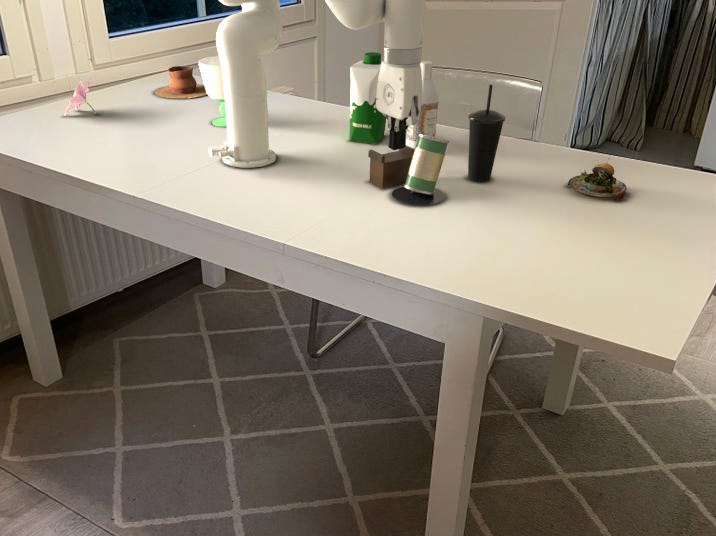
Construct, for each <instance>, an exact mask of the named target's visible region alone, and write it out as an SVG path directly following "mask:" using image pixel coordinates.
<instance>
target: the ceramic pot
mask: <svg viewBox="0 0 716 536" xmlns="http://www.w3.org/2000/svg"><path fill="white" fill-rule="evenodd" d="M193 70H194V68H193V67H192V66H188V65H187V66H185V65H176V66H171V67H169V68H167V72H168V75H169V77H170V78H169V81H168V85H167V86H163V87H160V88H157V89H156V90H155V91H154V94H155V95H156V96H158V97H160V98H165V99H166V98H167V99H186V100H187V99H188V100H189V99H192V98H193V99H194V98H198V97H204V96H206V95H208V94H207V92H206V88H205V85H204V84H197V80H196V78H195V77H194V75H193V74H194V73H193V72H194V71H193Z"/></svg>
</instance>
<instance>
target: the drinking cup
mask: <svg viewBox="0 0 716 536" xmlns="http://www.w3.org/2000/svg"><path fill="white" fill-rule="evenodd" d="M493 87H494V85H493V84H489V85H488V93H487V101H486V108H485V109H479V110H476V111H474V112H470V113H469V114H468V116H467V117H468V120H469V127H468V130H469V131H468V158H467V160H468V161H467V179H468V180H469V182H472V183H477V184H478V183H479V184H483V183H488V182H489V181H490V180H491V176H492V172H493V169H494V164H495V159H496V155H497V151H498V147H499V143H500V138H501V134H502V129H503V126H504V125H503V124H504V122H505V121H506V116H505V115H504V114H503V113H500V112H498V111H497V110H493V109H491V101H492V94H493Z"/></svg>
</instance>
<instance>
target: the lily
mask: <svg viewBox="0 0 716 536" xmlns="http://www.w3.org/2000/svg"><path fill="white" fill-rule="evenodd" d="M92 80H93V78H90V79H89V80H88V81H87V82H86V83H85V84H83V82H82V79H79V81H78V82H77V84H76V86H75V88H74V93H73V94H72V98H70V100H69V101H68V106H67V108H66V109H65V112H64V115H63V117H65V116H66V115H67V114H68V113H69V112H70V111H71V109H73V108H75V110H76V111H77V112H78V111H79V110H80V109H79V108H80V106H81V105H84V104H87V105H88V106H89V107H90V108H91V110H92V111H93V112H94V113H95V115H96V116H97V115H98V113H97V111H95V109H94V108H93V106H92V105H91V104H90V103H89V102H88V100H87V93H89V91H90V88H88V87H89V85H90V83H91V81H92Z"/></svg>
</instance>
